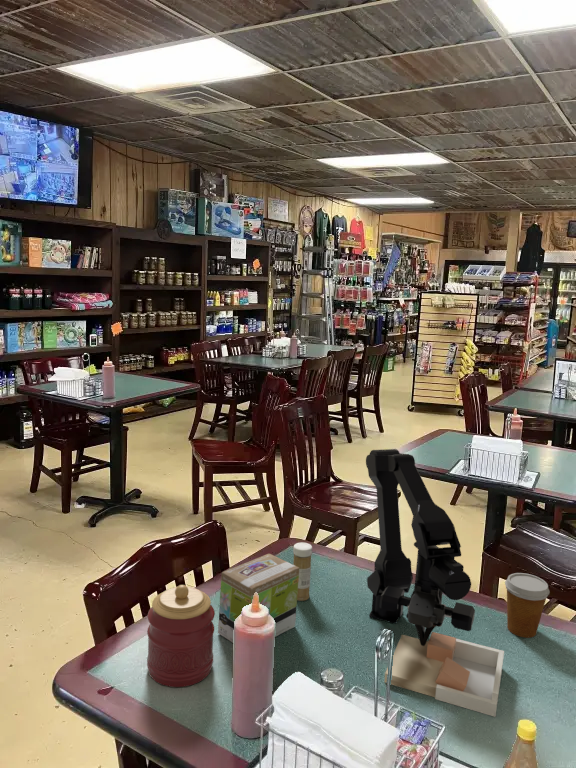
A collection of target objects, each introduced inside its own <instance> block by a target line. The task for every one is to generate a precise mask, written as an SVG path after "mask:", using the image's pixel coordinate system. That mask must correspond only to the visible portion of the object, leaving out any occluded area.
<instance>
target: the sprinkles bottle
mask: <svg viewBox="0 0 576 768" xmlns="http://www.w3.org/2000/svg"><path fill="white" fill-rule="evenodd" d="M292 553H293V562H292V563H293V564H292V565H295V566H297V567H299V581H298V594H297V602H298V601H299V602H304V601H307V600H308V599H309V598H310V586H311V574H312V573H311V572H312V571H311V570H312V554H313V546H312V544H310V543H307V542H296V543H294V545H293V552H292Z"/></svg>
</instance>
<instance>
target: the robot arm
mask: <svg viewBox="0 0 576 768" xmlns="http://www.w3.org/2000/svg"><path fill="white" fill-rule="evenodd" d="M365 465H366V468H367V473H368V477H369V479H370V481H371V482H372V483H373V485H374V486H375V488H376V489H375V490H376V499H377V500H376V501H377V503H376V504H377V516H378V531H379V545H380V548H379V549H380V551H379V553H378V554H377V556H376V559H375V560H374V571H373V572H372V573H371V574H370V575H368V577H367V578H366V581H367V588H368V589H369V591H370V592H371V593H372V600H371V611H370V612H369V614H368V615H369V617H370V618H373V619H376V620H380V621H384V622H389V623H392V624H397V622H399V619H400V618H401V616H402V615H403V613H404V607H407V613H406V614H405V616H406V618H407V621H408V623H409V624H411V625H414V627H415V629H416V632H417V636H418V639H419V640H420V643H421V645H422V646H425V644H426V642H427V641H429V639H430V636H431V634H432V632H433V630H434V629H435V628H436V627H437V628H438V627H439V628H440V627H442V626H443V623H444V620H445V618H450V619H451V620H450V624H451V625H452V626H453V628H455V629H458V630H463V631H466V632H470V631H472V628H473V624H474V620H475V615H476V610H475V608H474V606H473V605H469V604H467V603H466V604H465V603H461V602H457V601H458V600H459V601H460V600H462V599H463V598H465V597H466V596H467V595H468V594H469V592H470V590H471V588H472V581H471V578H470V576H469V574H468V573H467V572H465V570H464V565H463V564H462V563H461V562H459V561H457V560H456V559H455V558H457V557H461V556H462V552H461V548H462V545H461V543H460V540H459V537H458V534H457V531H456V527H455V525H454V523H453V521H452V520H451V518H450V517H449V515H448V514H447V512H446V510H445V509H444V508H442V507H440V506H439V505H437V504H436V503H435V502H434V500H433V498H432V497H431V495H430V492H429V490H428V489H427V486H426V484H425V483H424V481H423V478H422V476H421V474H420V472H419V470H418V468H417V466H416V459H415V457H414V456H413V454H409V453H400V451H399V450H398V449H397V448H389V449H388V448H387V449H386V448H385V449H372V450H370V452H369V454H367V455H366V458H365ZM398 486H399V487H400V490H401V491H402V494H403V496H404V498H405V500H406V502H407V505H408V507H409V509H410V511H411V514H412V520H411V529H412V532H413V537H414V540H415V542H413V546H414V547H415V548H416V549H417V555H416V556H417V557H416V566H415V578H414V577H413V571H412V570H413V569H412V560H411V559H410V558H409V557H407V555H406V554H405V553H404V551H403V550H402V549H403V548H402V537H401V536H402V535H401V524H400V523H401V522H400V511H399V510H400V508H399V495H398ZM446 545H449V546H447V547H445V546H446ZM438 546H444V547H438ZM413 580H414V586H413V591H412V593H411V594H410V596H407V595H405V594H408V593H409V591H410V589H411V586H412V582H413ZM443 594H444V595H445V596H446V597H447V598H448V599H449V600H452V601H456V602H455V604H454V606H453V607H450V606H449V607H448V606H447V605H446V604H444V603H443Z"/></svg>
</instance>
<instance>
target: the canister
mask: <svg viewBox="0 0 576 768" xmlns="http://www.w3.org/2000/svg"><path fill="white" fill-rule="evenodd" d="M151 603H152V604H151V607H150V608H149V610H148V613H147V621H148V622H149V625H148V628H147V637H148V639H147V641H148V643H147V657H146V661H147V663H146V666H147V669H148V670H147V671H148V674H149V676H150V678H151V679H152V680H153V681H154V682H156V683H158V684H159V685H163V686H166V687H171V688H183V687H189V686H192V685H196V684H198V683H200V682H202V681H203V680H204V679H206V678H207V677H208V675H209V674H210V673H211V671H212V668H213V663H214V652H213V650H214V647H213V646H214V633H215V625H214V622H213V620H214V619H215V614H216V613H215V612H216V611H215V608H214V606H212V602H211V598H210V597H209V595H208V594H207V593H205V592H204V591H202V590H199V589H198V588H195V587H192V586H188V585H185V584H179V585H178V586H173V587H170V588H169V589H168V588H167V589H166V590H164V591H163V592H161V593H159V594H157V595H156V596H155V597H154V598H153V600H152V602H151Z"/></svg>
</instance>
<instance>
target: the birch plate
mask: <svg viewBox="0 0 576 768" xmlns="http://www.w3.org/2000/svg"><path fill="white" fill-rule="evenodd" d="M428 642H429V640H427V642H426V644H425V646H422V645H421V643H420V640H419V638H418V637H412V636H408V635H406V634H405V635H404V634H401V635H400V638H399V641H398V642H397V644H396V648H395V650H394V653H393V654H394V655H393V654H392V656H393V666H392V680H391V684H390V685H391V686H392V685H393V686H395V687H399V688H402V689H405V690H409V691H413V692H416V693H420V694H423V695H427V696H428V697H433V698H435V695H436V686H437V683H436V682H435V681H436V678H437V676H438V673H439V670H440V667H441V666H442V664H443V662H442V661H438V660H434V659H431V658H427V647H428ZM387 675H388V667H387V668H386V671H384V684H387V683H386V682H387ZM438 685H439V684H438Z"/></svg>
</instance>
